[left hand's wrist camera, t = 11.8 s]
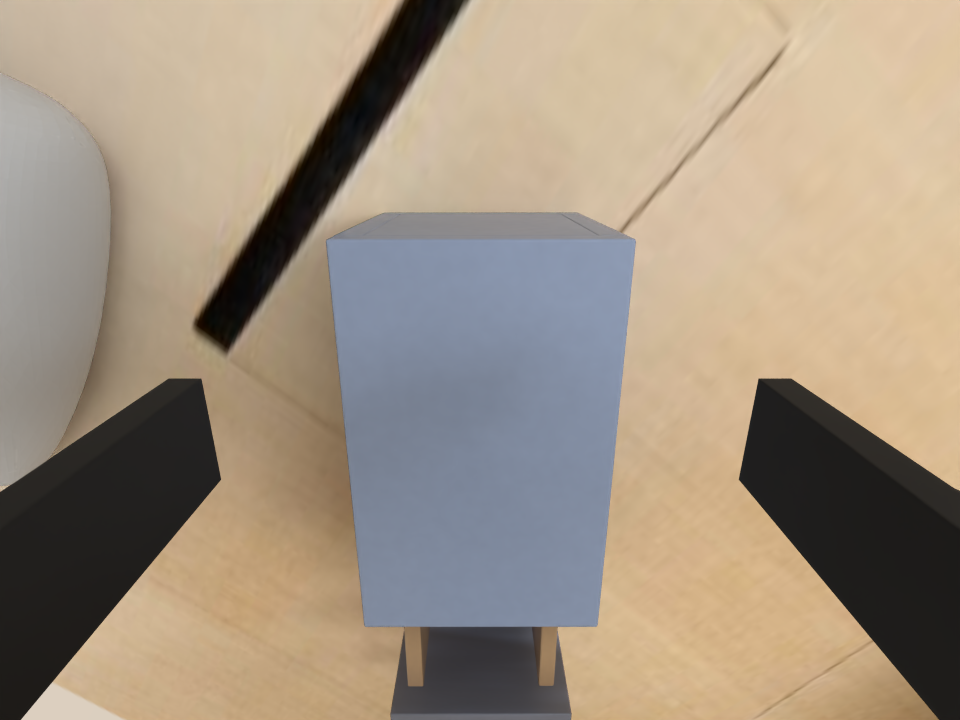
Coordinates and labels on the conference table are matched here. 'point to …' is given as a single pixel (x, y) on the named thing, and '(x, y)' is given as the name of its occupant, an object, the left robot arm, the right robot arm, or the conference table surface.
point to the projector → (46, 271)
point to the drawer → (480, 674)
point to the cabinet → (480, 412)
